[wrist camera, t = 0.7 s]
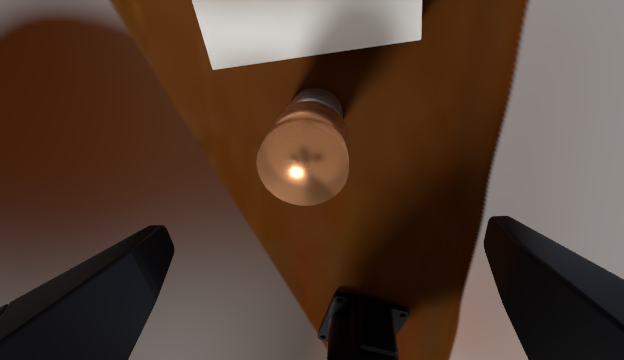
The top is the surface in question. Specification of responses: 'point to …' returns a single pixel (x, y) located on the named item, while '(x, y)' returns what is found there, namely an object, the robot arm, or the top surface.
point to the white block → (301, 27)
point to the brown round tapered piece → (306, 150)
